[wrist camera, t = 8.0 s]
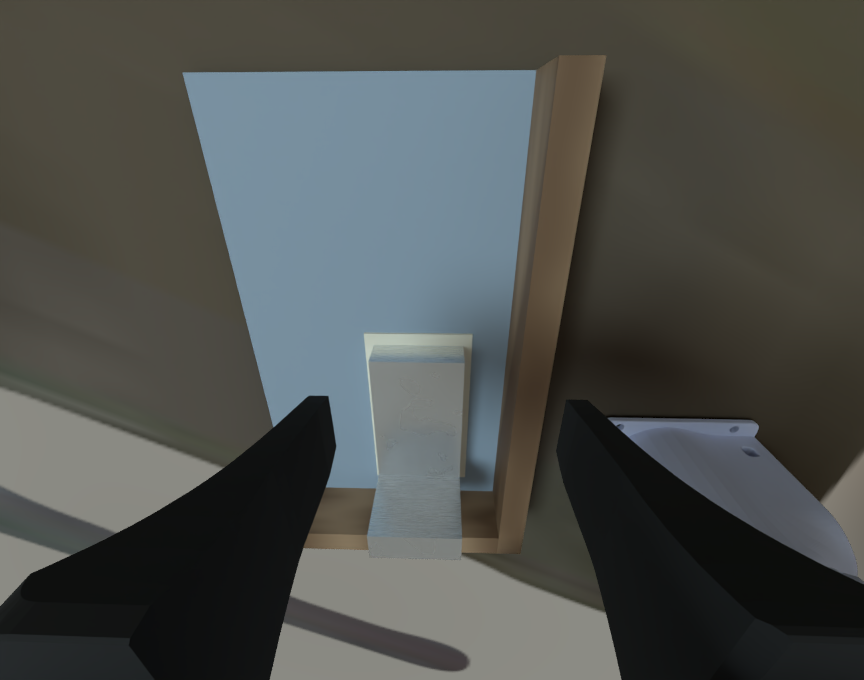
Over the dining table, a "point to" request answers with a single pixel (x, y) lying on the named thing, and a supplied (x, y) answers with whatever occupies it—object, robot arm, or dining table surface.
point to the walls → (515, 318)
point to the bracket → (417, 451)
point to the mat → (371, 233)
